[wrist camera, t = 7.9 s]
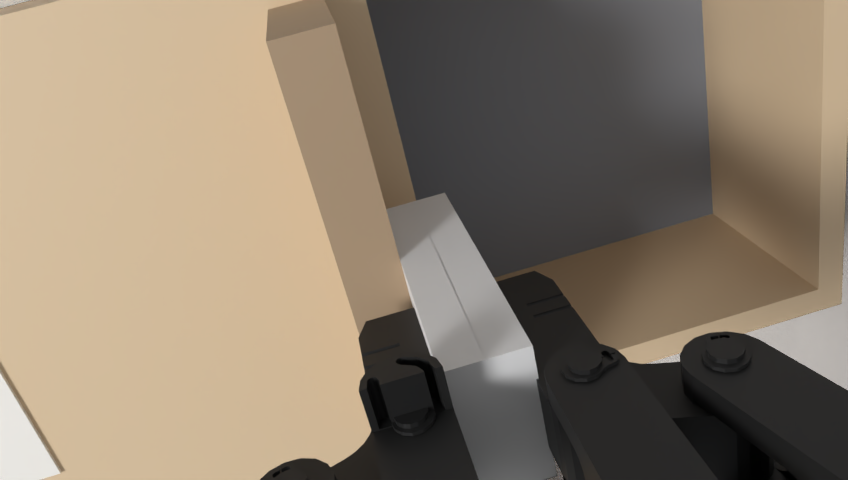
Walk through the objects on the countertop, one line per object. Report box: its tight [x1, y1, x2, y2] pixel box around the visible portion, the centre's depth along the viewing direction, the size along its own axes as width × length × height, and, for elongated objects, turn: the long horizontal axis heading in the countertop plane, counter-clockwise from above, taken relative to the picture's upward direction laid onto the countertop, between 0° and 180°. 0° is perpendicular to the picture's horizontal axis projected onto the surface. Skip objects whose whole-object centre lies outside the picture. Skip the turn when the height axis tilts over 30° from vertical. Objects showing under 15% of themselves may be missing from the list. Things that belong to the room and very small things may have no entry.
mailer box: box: [0, 0, 848, 364], centre depth 23 cm, size 14×26×7 cm, turn 103°
